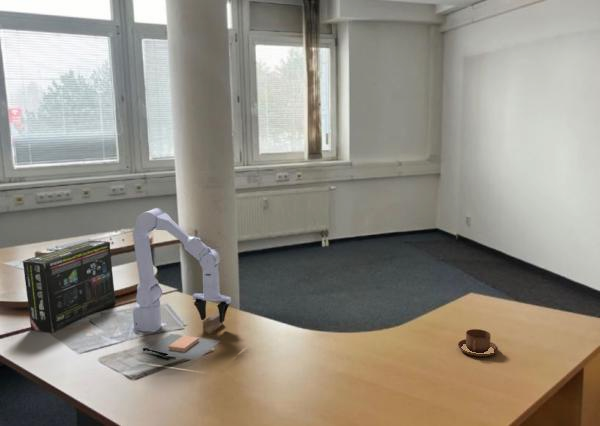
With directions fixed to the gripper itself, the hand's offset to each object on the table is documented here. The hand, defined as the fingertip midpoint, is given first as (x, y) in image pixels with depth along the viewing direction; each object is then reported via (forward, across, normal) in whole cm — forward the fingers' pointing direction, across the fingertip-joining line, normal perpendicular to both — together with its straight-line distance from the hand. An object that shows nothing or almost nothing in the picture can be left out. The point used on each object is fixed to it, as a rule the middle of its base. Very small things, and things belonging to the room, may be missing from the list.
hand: (212, 320), depth 190 cm
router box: (+4, +60, +3) cm, 60 cm away
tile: (+2, +2, +12) cm, 12 cm away
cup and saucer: (+4, -91, -9) cm, 91 cm away
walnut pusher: (+4, 0, 0) cm, 4 cm away
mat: (+4, +2, +17) cm, 17 cm away
